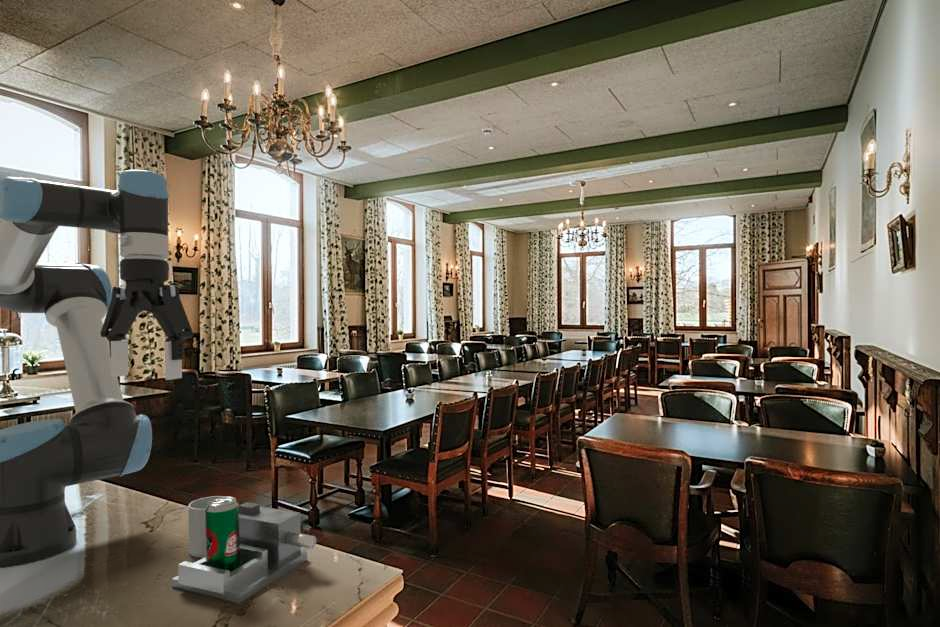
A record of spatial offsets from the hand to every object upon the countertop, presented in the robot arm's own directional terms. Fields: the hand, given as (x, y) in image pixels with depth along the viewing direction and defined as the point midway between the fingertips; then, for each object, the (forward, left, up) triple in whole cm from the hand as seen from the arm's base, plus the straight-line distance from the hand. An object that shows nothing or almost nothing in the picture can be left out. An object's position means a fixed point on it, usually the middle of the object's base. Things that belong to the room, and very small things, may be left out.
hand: (146, 377), depth 99 cm
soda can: (+20, -2, -31) cm, 37 cm away
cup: (+6, +7, -33) cm, 34 cm away
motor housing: (+20, +2, -33) cm, 38 cm away
